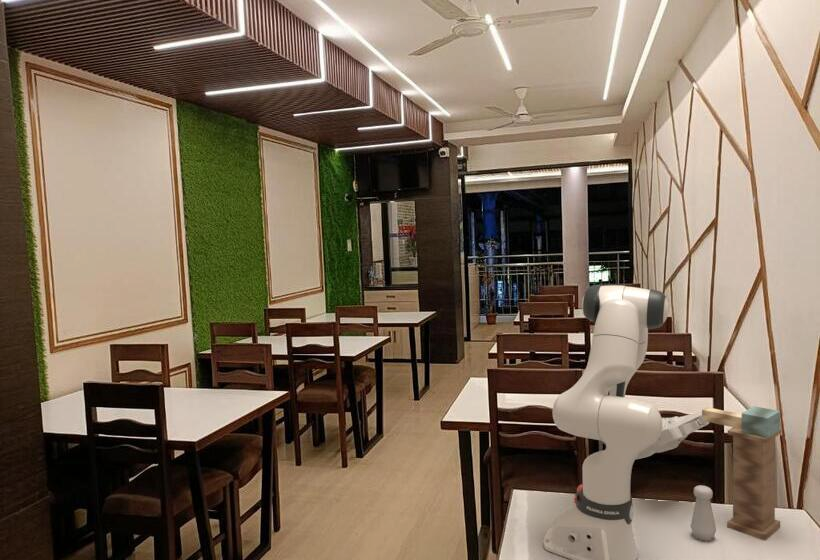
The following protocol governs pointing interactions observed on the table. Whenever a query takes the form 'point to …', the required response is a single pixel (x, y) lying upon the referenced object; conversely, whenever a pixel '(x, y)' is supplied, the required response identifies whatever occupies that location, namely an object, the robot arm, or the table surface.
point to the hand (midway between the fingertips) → (706, 419)
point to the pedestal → (753, 484)
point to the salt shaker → (703, 514)
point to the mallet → (746, 420)
